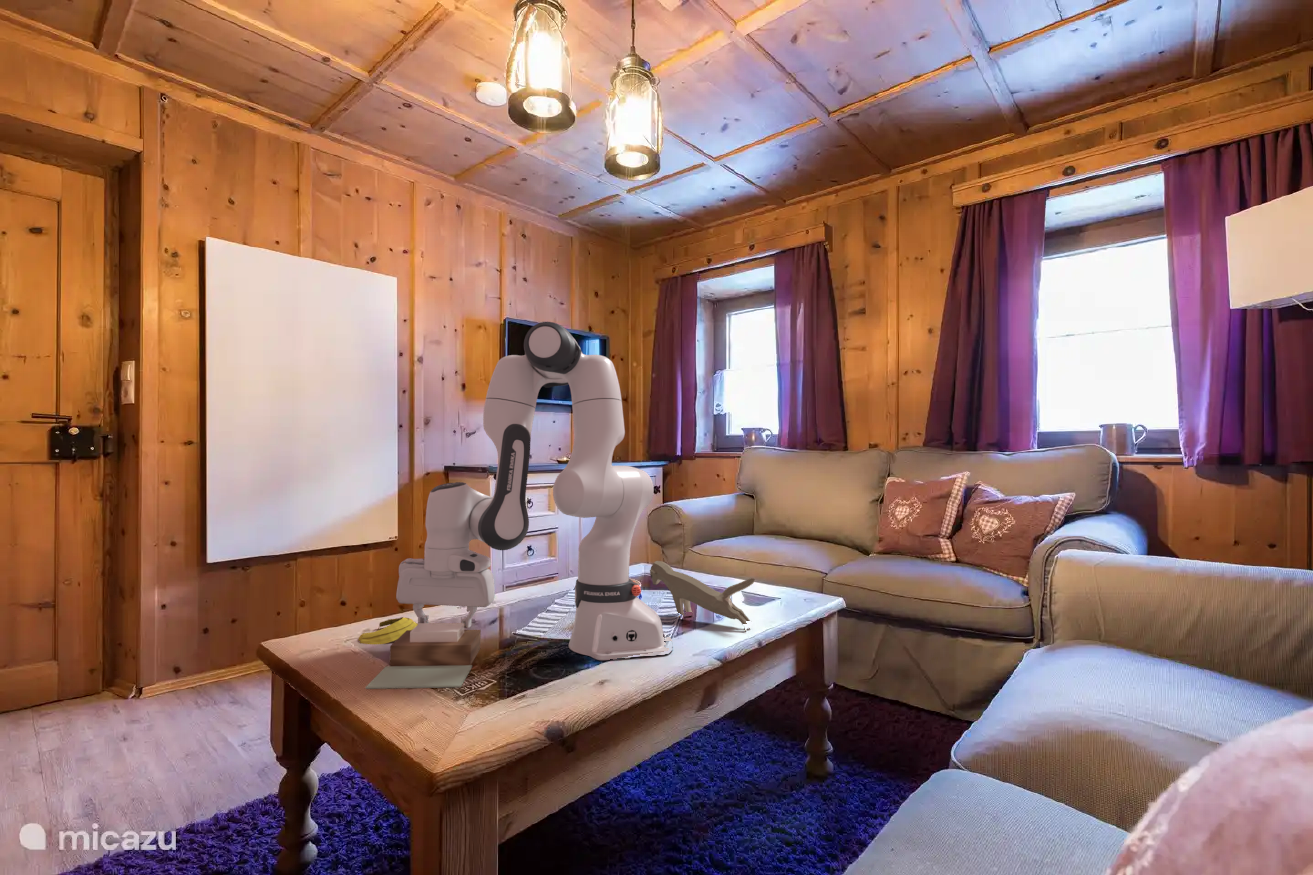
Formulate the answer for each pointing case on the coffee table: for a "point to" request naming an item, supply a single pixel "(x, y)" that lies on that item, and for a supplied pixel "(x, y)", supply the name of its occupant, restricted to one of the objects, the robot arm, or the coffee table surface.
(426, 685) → the mat
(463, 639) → the wooden block
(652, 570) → the sculpture
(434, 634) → the tile
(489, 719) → the coffee table surface
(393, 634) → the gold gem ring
